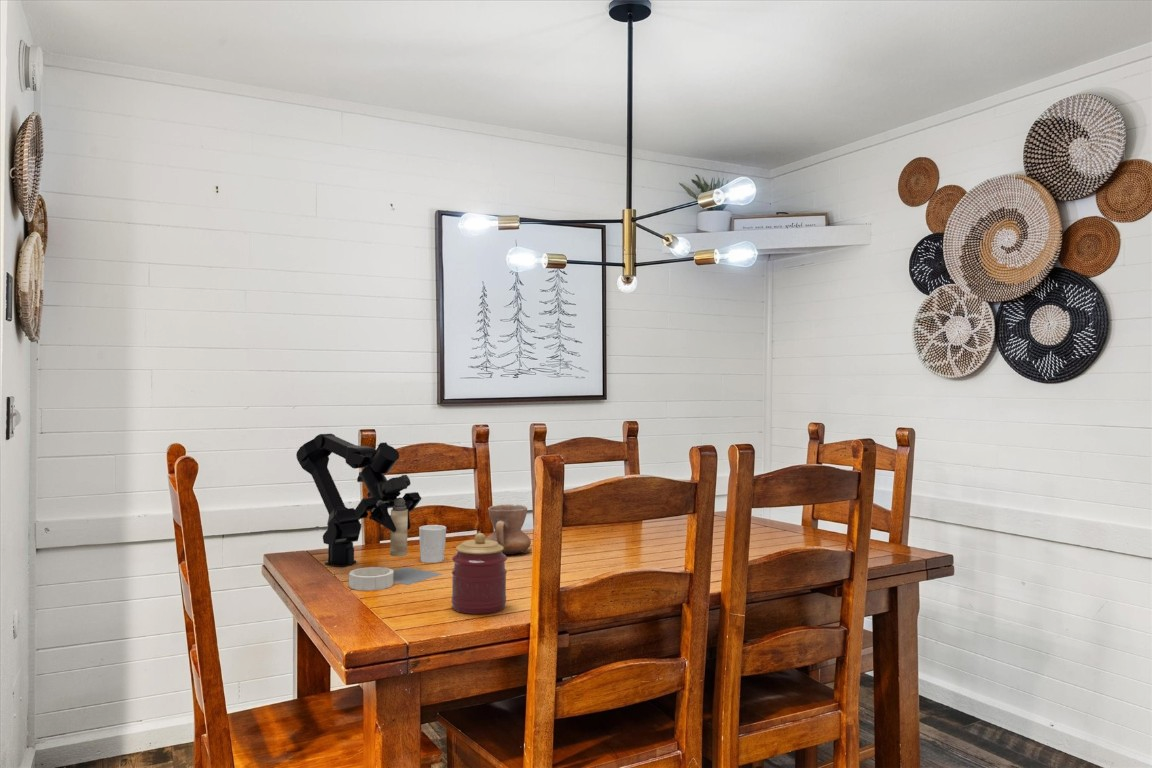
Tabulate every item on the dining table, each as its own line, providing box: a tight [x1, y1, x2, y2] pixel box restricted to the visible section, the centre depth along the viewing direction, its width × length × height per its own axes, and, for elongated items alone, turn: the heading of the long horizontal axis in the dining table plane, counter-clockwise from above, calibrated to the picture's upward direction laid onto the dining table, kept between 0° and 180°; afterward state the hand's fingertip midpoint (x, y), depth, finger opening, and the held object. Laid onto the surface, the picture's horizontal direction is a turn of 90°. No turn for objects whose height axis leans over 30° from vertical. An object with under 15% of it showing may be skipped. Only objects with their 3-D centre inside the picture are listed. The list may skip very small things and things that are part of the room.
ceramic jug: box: [486, 503, 532, 555], centre depth 250 cm, size 18×14×14 cm
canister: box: [450, 532, 508, 615], centre depth 190 cm, size 13×13×18 cm
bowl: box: [348, 566, 395, 592], centre depth 207 cm, size 11×11×4 cm
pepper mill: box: [389, 497, 408, 557], centre depth 214 cm, size 4×4×15 cm
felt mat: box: [393, 566, 443, 586], centre depth 218 cm, size 14×14×1 cm
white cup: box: [418, 524, 447, 564], centre depth 236 cm, size 8×8×10 cm
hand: (402, 529), depth 213 cm, fingers closed on pepper mill, 4 cm apart
